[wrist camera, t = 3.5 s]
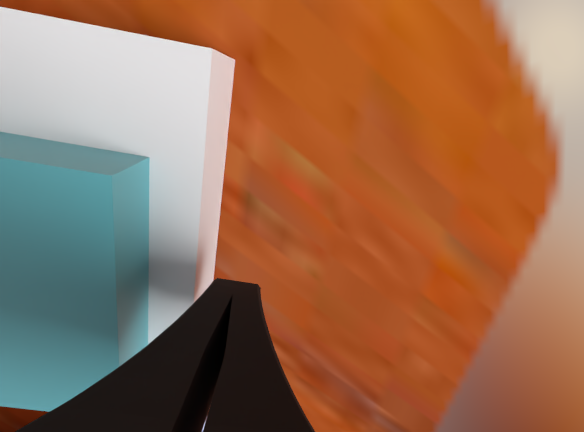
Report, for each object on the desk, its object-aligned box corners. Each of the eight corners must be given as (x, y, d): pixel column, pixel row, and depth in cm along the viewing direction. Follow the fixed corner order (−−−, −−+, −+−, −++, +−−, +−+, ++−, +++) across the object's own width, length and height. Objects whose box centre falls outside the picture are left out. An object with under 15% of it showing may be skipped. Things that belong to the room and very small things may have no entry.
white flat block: (205, 357, 16) (184, 425, 13) (-41, 326, 15) (-130, 389, 12) (235, 59, 11) (212, 48, 8) (-135, -13, 10) (-335, -60, 7)
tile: (147, 367, 12) (121, 419, 10) (-22, 346, 11) (-83, 397, 9) (149, 157, 9) (112, 175, 7) (-81, 118, 8) (-186, 126, 7)
